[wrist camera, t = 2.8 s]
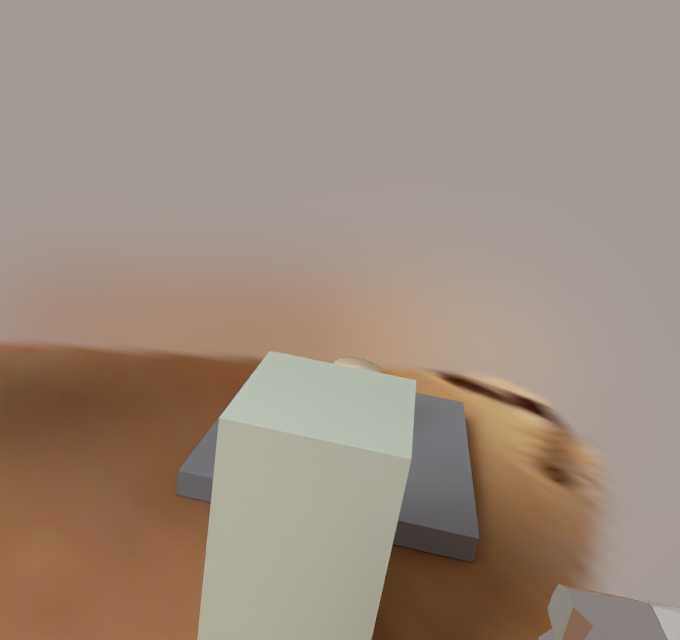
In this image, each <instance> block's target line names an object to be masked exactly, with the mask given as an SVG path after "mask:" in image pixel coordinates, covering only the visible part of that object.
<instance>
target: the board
mask: <svg viewBox="0 0 680 640" xmlns="http://www.w3.org/2000/svg"><path fill="white" fill-rule="evenodd" d="M261 362H262V361H261ZM261 362H260V363H261ZM334 364H338V365H343V366H348V367H353V368H358V369H363V370H368V371H373V372H378V373H381V369H380V367H379V366H377V365H376V364H374V363H372V362H370V361H367V360H364V359H359V358H350V357H347V358H340V359H337V360H336V361H335V362H334ZM258 366H259V365H258ZM258 366H257V367H258ZM257 367H256V368H257ZM255 370H256V369H255ZM255 370H254V371H255ZM254 371H253V372H254ZM252 374H253V373H252ZM252 374H251V375H252ZM251 375H250V376H251ZM249 378H250V377H249ZM249 378H248V379H249ZM248 379H247V380H248ZM246 382H247V381H246ZM246 382H245V383H246ZM245 383H244V384H245ZM243 386H244V385H243ZM243 386H242V387H243ZM242 387H241V388H242ZM240 390H241V389H240ZM240 390H239V391H240ZM239 391H238V392H239ZM237 394H238V393H237ZM237 394H236V395H237ZM236 395H235V396H236ZM235 396H234V397H235ZM233 399H234V398H233ZM233 399H232V400H233ZM232 400H231V401H232ZM230 403H231V402H230ZM230 403H229V404H230ZM229 404H228V405H229ZM227 407H228V406H227ZM227 407H226V408H227ZM226 408H225V409H226ZM224 411H225V410H224ZM224 411H223V412H224ZM223 412H222V413H223ZM221 415H222V414H221ZM221 415H220V416H221ZM220 416H219V417H220ZM218 424H219V418H218V419H217V420H216V421H215V423H214V424H213V425H212V427H211V428H210V429H209V431H208V432H207V433H206V435H205V436H204V437H203V439H202V440H201V441H200V443H199V444H198V445H197V447H196V448H195V449H194V450H193V452H192V453H191V454H190V456H189V457H188V458H187V460H186V461H185V462H184V464H183V465H182V466H181V468H180V469H179V470H178V478H177V492H176V495H180V496H185V497H189V498H193V499H198V500H202V501H206V502H211V495H212V485H213V475H214V464H215V454H216V444H217V434H218ZM479 539H480V537H479V529H478V521H477V513H476V505H475V496H474V488H473V480H472V472H471V464H470V455H469V447H468V439H467V431H466V423H465V414H464V406H463V402H458V401H453V400H448V399H443V398H438V397H433V396H428V395H423V394H418V393H415V410H414V427H413V443H412V459H411V464H410V468H409V473H408V477H407V482H406V486H405V491H404V495H403V500H402V504H401V509H400V513H399V518H398V522H397V527H396V531H395V536H394V540H393V544H394V545H398V546H402V547H407V548H411V549H415V550H420V551H424V552H428V553H433V554H437V555H442V556H446V557H450V558H455V559H459V560H463V561H468V562H472V563H473V561H474V557H475V554H476V550H477V547H478V543H479Z"/></svg>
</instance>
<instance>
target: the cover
mask: <svg viewBox="0 0 680 640" xmlns="http://www.w3.org/2000/svg"><path fill="white" fill-rule="evenodd" d="M415 393H416V380H413V379H408V378H403V377H398V376H393V375H388V374H383V373H378V372H373V371H368V370H363V369H358V368H353V367H348V366H343V365H338V364H333V363H328V362H324V361H319V360H314V359H308V358H304V357H299V356H294V355H289V354H284V353H279V352H274V351H269V353H268V354H267V355H266V357H265V358H264V359H263V360H262V362H261V363H260V364H259V366H258V367H257V368H256V370H255V371H254V372H253V374H252V375H251V376H250V378H249V379H248V380H247V382H246V383H245V384H244V386H243V387H242V388H241V390H240V391H239V392H238V394H237V395H236V396H235V397H234V399H233V400H232V401H231V403H230V404H229V405H228V407H227V408H226V409H225V411H224V412H223V413H222V415H221V416H220V417H219V424H218V434H217V444H216V454H215V464H214V475H213V485H212V495H211V505H210V516H209V526H208V536H207V546H206V556H205V567H204V577H203V587H202V597H201V607H200V618H199V628H198V638H197V640H371V639H372V635H373V630H374V626H375V621H376V617H377V612H378V608H379V603H380V599H381V594H382V590H383V585H384V581H385V576H386V572H387V567H388V563H389V558H390V554H391V549H392V545H393V540H394V536H395V531H396V527H397V522H398V518H399V513H400V509H401V504H402V500H403V495H404V491H405V486H406V482H407V477H408V473H409V468H410V464H411V459H412V443H413V427H414V410H415Z"/></svg>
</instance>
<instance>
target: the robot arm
mask: <svg viewBox="0 0 680 640" xmlns="http://www.w3.org/2000/svg"><path fill="white" fill-rule="evenodd" d="M548 613H549V617H550V621H551V625H552V629H550V630H549V631H547V632H546V633H544V634H543V635H541V636H540V637H539V638H538V640H680V607H676V606H671V605H665V604H661V603H655V602H650V601H645V600H643V601H642V602H641V601H638V600H633V599H628V598H623V597H619V596H614V595H609V594H605V593H600V592H595V591H590V590H586V589H581V588H576V587H571V586H567V585H562V584H559V585H558V586H557V588H556V589H555V591H554V592H553V594H552V597H551V600H550V603H549V606H548Z"/></svg>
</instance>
